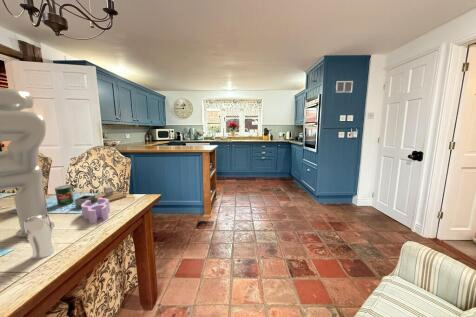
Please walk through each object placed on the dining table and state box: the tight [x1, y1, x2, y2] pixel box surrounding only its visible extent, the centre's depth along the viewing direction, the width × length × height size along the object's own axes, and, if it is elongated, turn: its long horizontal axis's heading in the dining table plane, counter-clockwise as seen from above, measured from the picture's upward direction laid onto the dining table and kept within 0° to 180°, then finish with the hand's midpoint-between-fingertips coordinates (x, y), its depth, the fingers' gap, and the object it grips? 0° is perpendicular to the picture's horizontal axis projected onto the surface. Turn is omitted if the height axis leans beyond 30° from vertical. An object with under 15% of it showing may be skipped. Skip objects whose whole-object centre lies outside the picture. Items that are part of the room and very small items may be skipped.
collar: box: [74, 194, 97, 209], centre depth 123 cm, size 7×7×5 cm
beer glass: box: [24, 214, 55, 260], centre depth 76 cm, size 7×7×15 cm
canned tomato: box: [54, 184, 75, 207], centre depth 126 cm, size 8×8×11 cm
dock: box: [92, 185, 127, 203], centre depth 135 cm, size 18×14×8 cm
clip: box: [81, 197, 111, 225], centre depth 109 cm, size 20×12×7 cm, turn 41°
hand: (14, 151), depth 103 cm, fingers open, 9 cm apart
